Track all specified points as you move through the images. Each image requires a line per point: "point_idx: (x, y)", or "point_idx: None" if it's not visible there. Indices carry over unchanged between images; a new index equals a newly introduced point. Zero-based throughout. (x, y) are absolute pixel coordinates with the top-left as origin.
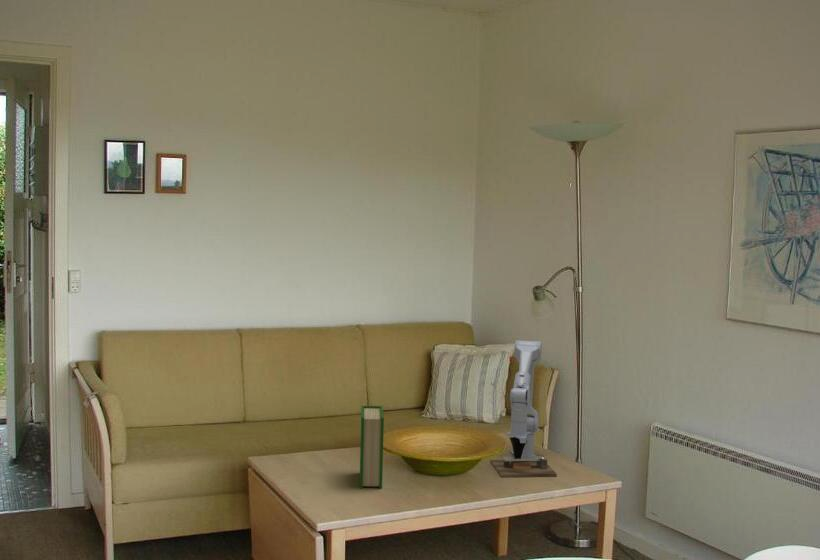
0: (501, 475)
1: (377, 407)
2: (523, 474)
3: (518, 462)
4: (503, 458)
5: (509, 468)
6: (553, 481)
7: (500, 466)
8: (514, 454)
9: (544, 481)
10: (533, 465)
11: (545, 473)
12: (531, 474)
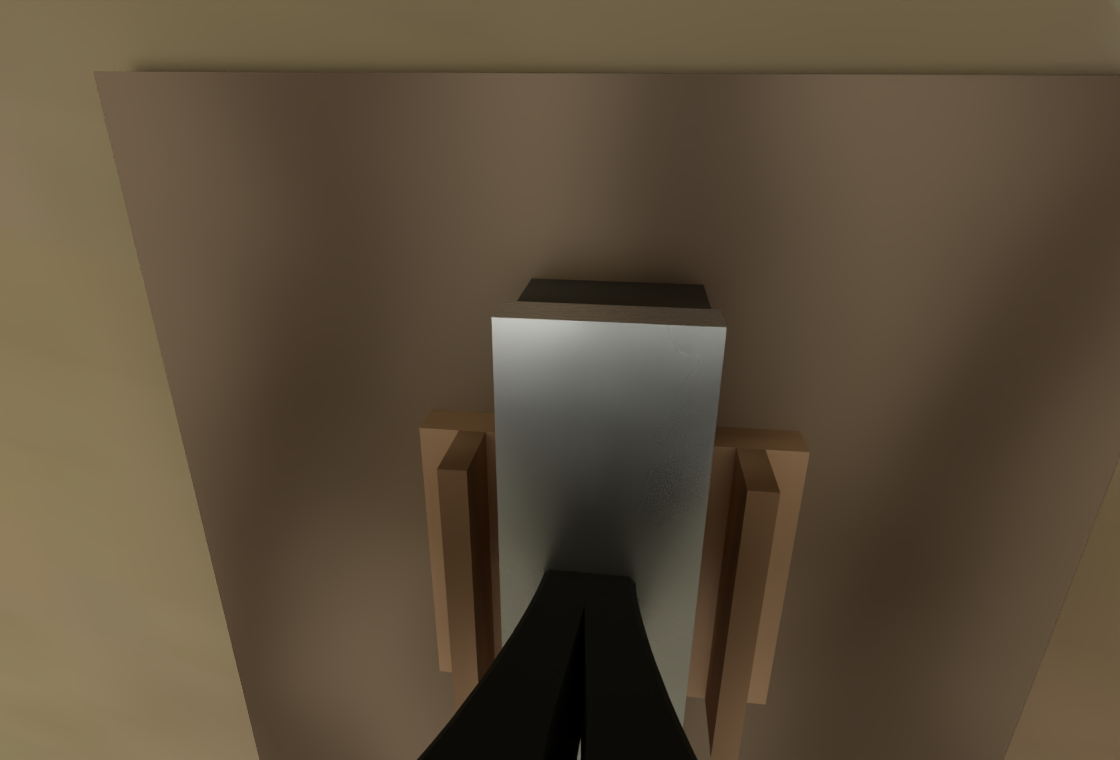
0: (108, 78)
1: None
2: (195, 475)
3: None
4: (681, 314)
5: None
6: (108, 720)
7: (654, 199)
8: (542, 619)
9: (83, 638)
10: None
11: (274, 744)
12: (218, 580)
